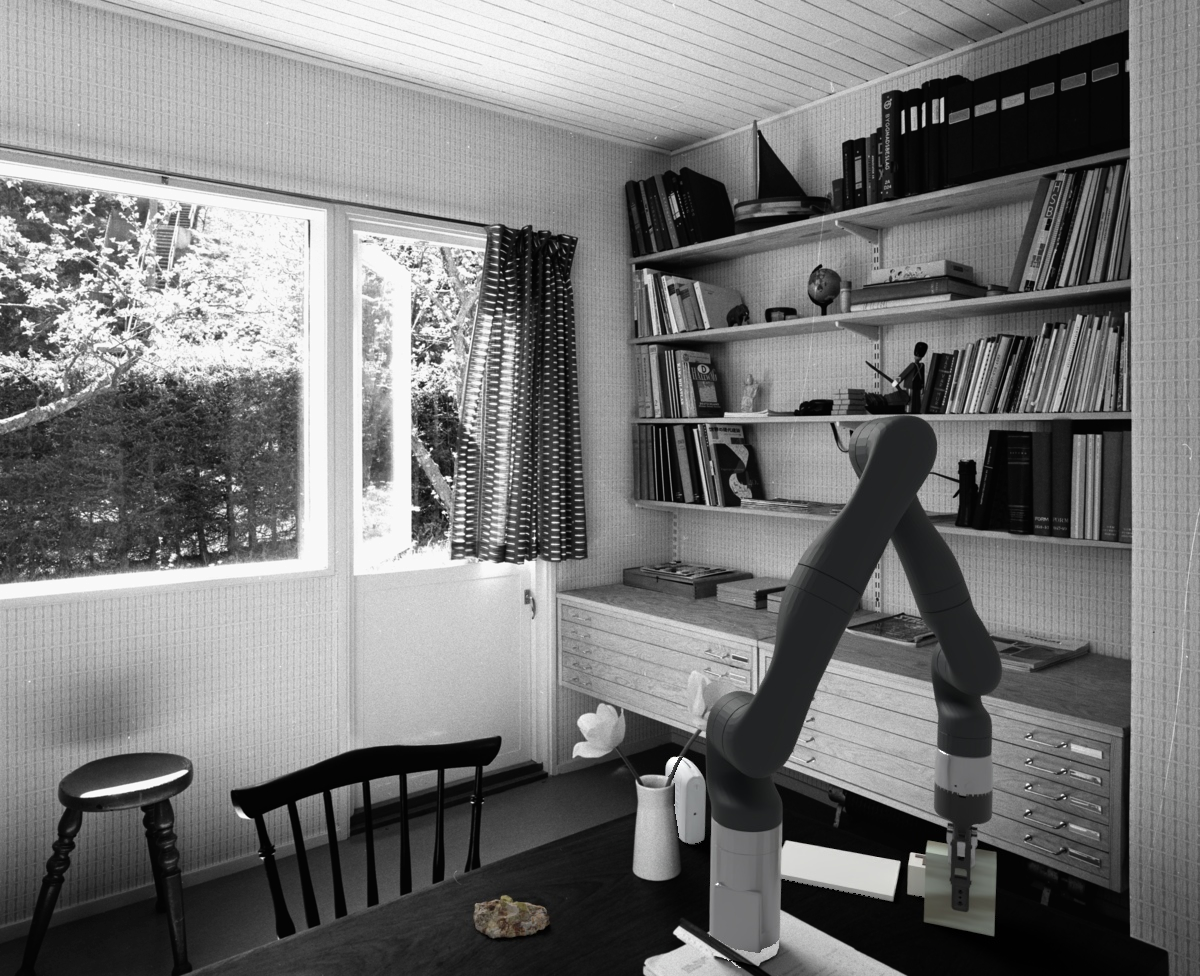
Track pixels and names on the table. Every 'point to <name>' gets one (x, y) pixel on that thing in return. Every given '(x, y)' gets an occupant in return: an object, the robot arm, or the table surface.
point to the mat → (839, 870)
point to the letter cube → (916, 874)
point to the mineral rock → (509, 918)
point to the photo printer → (688, 800)
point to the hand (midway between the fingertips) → (960, 895)
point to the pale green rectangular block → (941, 891)
